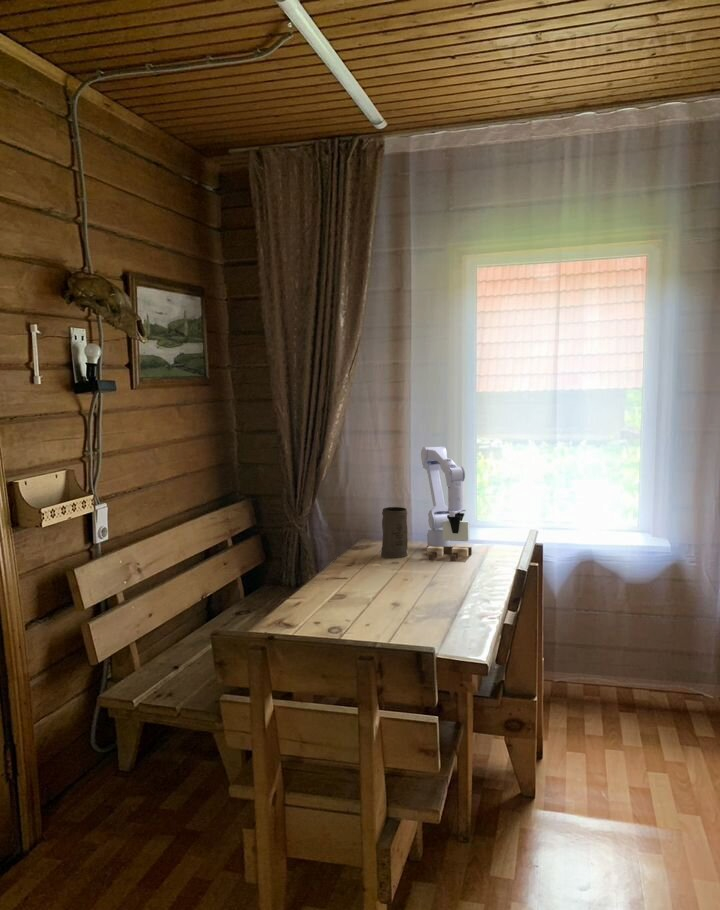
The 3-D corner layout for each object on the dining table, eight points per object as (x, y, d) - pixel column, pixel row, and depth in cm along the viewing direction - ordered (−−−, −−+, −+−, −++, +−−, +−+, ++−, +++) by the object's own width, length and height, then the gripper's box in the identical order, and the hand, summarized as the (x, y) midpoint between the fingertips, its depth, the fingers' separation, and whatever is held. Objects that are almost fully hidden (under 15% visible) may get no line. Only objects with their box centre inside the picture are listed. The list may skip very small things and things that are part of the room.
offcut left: (427, 555, 277) (427, 547, 277) (429, 553, 280) (428, 546, 280) (442, 555, 275) (441, 548, 275) (443, 554, 278) (443, 546, 278)
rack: (418, 562, 269) (418, 552, 269) (427, 554, 282) (427, 545, 282) (465, 564, 263) (464, 554, 263) (471, 556, 276) (471, 547, 276)
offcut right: (451, 556, 274) (451, 548, 274) (453, 554, 277) (453, 547, 277) (467, 556, 272) (466, 549, 272) (468, 555, 275) (468, 547, 275)
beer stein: (414, 558, 277) (413, 508, 275) (392, 562, 271) (391, 511, 269) (391, 552, 289) (389, 504, 288) (370, 556, 283) (368, 507, 282)
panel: (442, 540, 273) (442, 521, 273) (444, 539, 276) (443, 520, 275) (468, 541, 270) (467, 522, 269) (469, 540, 272) (469, 521, 272)
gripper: (461, 500, 263) (462, 536, 264) (469, 495, 277) (469, 529, 278) (443, 500, 266) (444, 535, 267) (451, 495, 279) (452, 529, 280)
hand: (456, 532), depth 272 cm, fingers closed on panel, 3 cm apart
